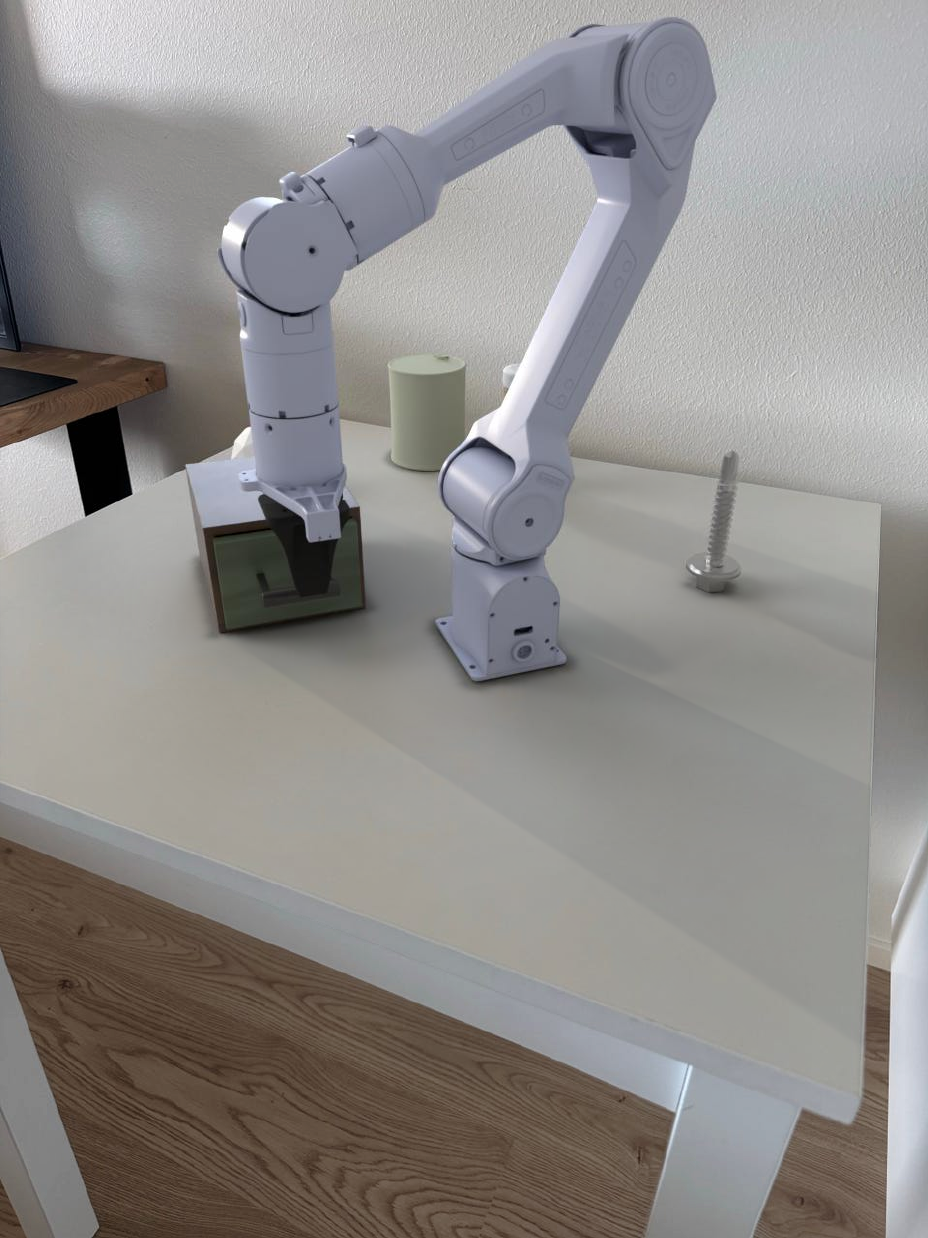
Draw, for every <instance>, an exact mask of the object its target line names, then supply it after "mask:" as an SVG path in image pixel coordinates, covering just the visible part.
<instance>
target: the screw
mask: <svg viewBox="0 0 928 1238" xmlns="http://www.w3.org/2000/svg"><path fill="white" fill-rule="evenodd" d="M739 462H740V454H738V453H737V452H736V451H734V450H730V451H727V452H725V453H724V455H723V458H722V463H721V469H720V474H719V475H718V477H719V479H718V481H716V485H717V487H715V488H714V490H715V494H714V495H713V497H714V500H713V501H712V503H713V505H714V506H713V507H711V509H712V511H713V512H712V513H710V516H711V517H712V518H711V519H710V520H709V522H710V523H711V524H710V525H709V526H708V528H709V529H710V530H709V531H708V532H707V534H708V535H709V537H706V540H707V541H708V542H707V543H706V544H705V545H706V547H707V548H706V549H705V550H704V552H698V553H695V554H693V555H692V556H690V557H688V558H687V560H686V563H685V569H686V570H687V571H688V572H689V573H690V574H691V575H692V576H694V577H696V583H695V588H698V589H700V590H702V591H704V592H706V593H718V592H724V589H725V585H726V582H727V581H732V580H735V579H737V578H739V576H740V575H741V573H742V566H741V565H740V563H739V562H738V561H737V560H736V559H735V558H734V557H732V556H730V555H727V554H726V553H727V552H728V548H727V547H728V546H729V542H728V541H729V540H730V534H731V528H732V524H731V523H732V522H733V518H732V517H733V515H734V511H733V510H735V505H734V504H735V503H736V502H737V501H736V497H737V491H738V489H739V488H738V486H737V485H738V483H739V480H738V479H737V476H738V475H737V474H738V468H739Z"/></svg>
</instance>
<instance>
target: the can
mask: <svg viewBox="0 0 928 1238" xmlns="http://www.w3.org/2000/svg"><path fill="white" fill-rule="evenodd" d="M387 369H388V380H389V381H388V382H389V399H390V401H389V402H390V403H389V404H390V427H391V429H390V430H391V454H390V459H391V461H392V463H393V464H394V465H396V466H398V467H400V468H403V469H406V470H410V471H411V470H412V471H417V472H438V471H439V472H440V470H441V468H442V466H443V464H444V462H445V461H446V459H447V458H448V457H449V456H450V454H451V453H452V452H454V451H455V450H456V449H457V448H458V447H459V446H460V445H461V444H462V443H463V442H464V441H465V439H466V369H467V363H466V361H465V360H464V359H462V358H460V357H458V356H454V355H450V354H442V353H413V354H406V355H400V356H398V357H395V358H393V359H391V360H389V362H388V363H387Z"/></svg>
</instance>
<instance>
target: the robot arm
mask: <svg viewBox="0 0 928 1238" xmlns="http://www.w3.org/2000/svg"><path fill="white" fill-rule="evenodd" d="M715 85H716V84H715V81H714V75H713V70H712V66H711V59H710V55H709V51H708V47H707V44H706V42H705V39H704V38H703V36H702V34H701V32H700V31H699V30H698V29H697V28H696V26H695V25H694V24H692V22H690V21H688V20H686V19H684V18H681V17H677V16H665V17H662V18H658V19H655V20H652V21H645V22H636V23H623V24H611V25H605V24H597V23H589V24H588V23H587V24H584V25H581V26H579V27H577V28H575V29H573V30H572V31H571V32H570V33H569V34H567V35H566V36H565V37H561V38H556V39H553V40H551V41H549V42H545V43H543V44H542V45H541V46H539V47H538V48H536V49H535V50H533V52H531V53H529V54H528V55H526V56H525V57H524V58H523V59H521V60H520V61H518V62H517V63H515V64H514V65H512V66H511V67H509V68H508V69H506V70H505V71H503V72H502V73H501V74H499V75H498V76H496V77H495V78H493V79H492V80H491V81H489V82H488V83H486V84H484V85H483V86H482V87H480V88H479V89H477V90H476V91H475V92H473V93H471V94H470V95H469V96H467V97H466V98H464V99H463V100H461V101H460V102H459V103H457V104H456V105H454V106H453V107H451V108H450V109H449V110H447V111H446V112H443V114H441V115H440V116H438V117H437V118H435V119H433V120H432V121H431V122H430V123H428V124H426V125H425V126H423V128H421V129H420V130H418V131H417V132H415V133H411V132H408V131H406V130H403V129H401V128H399V127H396V126H393V125H389V124H386V125H385V124H384V125H383V126H381V127H379V128H378V129H374V127H373V126H371V125H364V124H362V125H360V126H358V127H356V128H354V129H353V130H351V131H350V132H348V133H347V134H346V140H347V142H348V144H349V147H347V148H345V149H344V150H342V151H340V152H339V153H337V154H336V155H334V156H333V157H331V158H328V159H327V160H326V161H324V162H322V163H321V164H319V165H318V166H316V167H315V168H313V169H311V170H310V171H308V172H306V173H304V174H302V175H301V176H300V174H299V173H298V172H295V171H291V172H289V173H288V174H285V175H284V176H282V177H281V178H280V179H279V181H278V182H279V185H280V187H281V189H282V191H281V196H282V197H281V199H280V198H276V197H273V196H272V197H271V196H269V197H266V196H259V197H255V198H251V199H249V200H247V201H244V202H243V203H242V204H240V205H239V206H237V207H236V209H234V211H232V213H230V215H229V217H228V222H227V224H225V225H224V226H223V232H222V235H221V242H220V243H221V246H220V247H218V248H217V251H216V252H217V257H218V260H219V262H220V263H219V264H220V266H221V268H222V270H223V272H224V274H225V276H227V278H228V279H229V280H230V281H231V283H232V284H233V285H234V286H235V287H236V288H237V289H238V290H236V291H235V293H236V300H237V314H238V319H239V326H240V330H239V331H240V332H239V344H240V350H241V360H242V361H241V362H242V367H243V368H242V369H243V376H244V384H245V393H246V400H247V407H248V416H249V417H248V418H249V423H250V427H251V432H252V440H253V449H254V457H255V465H256V469H254V470H251V471H244V472H241V473H239V475H238V478H239V484H240V487H241V489H242V490H243V491H246V492H249V491H260V492H262V493H264V494H262V495H260V496H259V497H258V501H259V504H260V506H261V509H262V511H263V514H264V516H265V519H266V521H267V523H268V524H269V526H270V527H271V529H272V530H273V532H274V533H275V534H276V536H277V537H278V539H279V541H280V543H281V546H282V549H283V552H284V555H285V559H286V562H287V566H288V569H289V572H290V575H291V578H292V581H293V583H294V586H295V588H296V591H297V593H298V595H299V597H307V596H313V595H319V594H325V593H327V592H328V588H329V584H330V578H331V572H332V565H333V559H334V553H335V549H336V545H337V542H338V539H339V538H341V532H342V530H343V528H344V526H345V524H346V523H347V521H348V519H349V514H350V507H349V505H348V504H347V502H346V501H345V500H343V489H344V486H345V485H346V483H347V479H348V473H347V466H346V465H345V463H344V461H343V446H342V431H341V419H340V418H341V417H340V403H339V391H338V390H339V389H338V377H337V376H338V375H337V363H336V349H335V347H336V346H335V335H334V334H335V333H334V330H333V322H332V309H331V308H332V307H331V300H332V299H334V297H335V295H336V293H337V292H338V290H339V288H340V286H341V283H342V281H343V277H344V274H345V271H347V272H350V271H351V270H353V269H354V268H357V266H359V265H361V264H362V263H364V262H365V261H368V260H369V259H371V258H372V257H373V256H375V255H377V254H378V253H380V252H381V251H383V250H384V249H386V248H388V247H389V246H391V245H392V244H394V243H395V242H397V241H399V240H400V239H402V238H403V237H405V236H407V235H408V234H410V233H412V232H413V231H415V230H416V229H417V228H419V227H421V226H422V225H423V224H425V223H427V222H428V221H430V220H432V219H433V218H434V217H435V214H436V212H437V210H438V208H439V207H438V206H439V202H440V200H441V195H442V191H443V189H444V187H445V186H446V185H448V184H449V183H451V182H453V181H455V180H456V179H458V178H460V177H462V176H464V175H466V174H467V173H469V172H471V171H473V170H474V169H476V168H478V167H480V166H482V165H483V164H485V163H486V162H488V161H491V160H492V159H494V158H496V157H497V156H499V155H501V154H503V153H505V152H506V151H509V150H511V149H512V148H514V147H516V146H517V145H519V144H522V142H524V141H526V140H528V139H529V138H531V137H533V136H535V135H536V134H539V133H540V132H543V131H544V130H546V129H547V128H550V127H552V126H563V128H564V129H565V131H566V133H567V134H568V136H569V137H570V139H571V141H572V142H573V144H574V146H575V147H576V149H577V150H578V152H579V154H580V156H581V157H582V159H583V160H584V162H585V163H586V165H587V166H588V169H589V171H590V174H591V177H592V181H593V183H594V187H595V190H596V194H597V201H596V203H595V205H594V207H593V209H592V212H591V214H590V216H589V218H588V220H587V222H586V225H585V226H584V229H583V230H582V232H581V235H580V237H579V240H578V241H577V244H576V246H575V248H574V250H573V251H572V255H571V256H570V258H569V261H568V262H567V265H566V267H565V269H564V272H563V273H562V275H561V278H560V280H559V282H558V283H557V286H556V288H555V291H554V292H553V294H552V297H551V298H550V301H549V303H548V305H547V306H546V307H547V308H546V310H545V311H544V314H543V315H542V317H541V320H540V322H539V324H538V326H537V329H536V330H535V333H534V335H533V337H532V339H531V341H530V342H529V345H528V347H527V350H526V352H525V354H524V355H523V358H522V360H521V362H520V363H519V364H520V366H519V369H518V371H517V373H516V375H515V377H514V379H513V381H512V383H511V386H510V388H509V390H508V392H507V394H506V396H505V398H504V397H503V400H502V402H501V404H500V406H498V408H496V409H494V410H493V411H491V412H489V413H488V414H486V415H483V416H482V417H481V418H479V419H477V420H475V422H474V423H473V424H472V427H471V428H470V431H469V433H468V434H467V437H465V441H464V442H463V443H462V444H461V445H460V446H459V447H458V448H457V449H456V450H455V451H454V452H452V453H451V454H450V456H449V457H448V458H447V459H446V461H445V462H444V464H443V466H442V468H441V470H439V472H438V477H437V493H438V497H439V499H440V502H441V503H442V506H443V507H444V508H445V509H446V510H447V511H448V512H450V513H451V515H452V516H451V517H452V519H451V520H452V522H451V523H452V524H451V525H452V526H451V527H452V530H451V615H447V616H442V617H438V618H437V619H435V626H436V628H437V629H438V631H439V632H440V633H441V636H442V637H443V638H444V640H445V641H446V642H447V644H448V646H449V647H450V649H451V650H452V652H453V654H454V655H455V657H456V658H457V659H458V661H459V662H460V664H461V665H462V667H463V668H464V670H465V671H466V673H467V675H468V676H469V677H470V679H471V680H472V681H474V682H483V681H486V680H492V679H497V678H502V677H506V676H512V675H515V674H517V675H518V674H521V673H526V672H530V671H535V670H540V669H545V668H546V669H547V668H549V667H554V666H560V665H564V664H566V663H567V659H568V657H567V655H566V654H565V653H564V652H563V650H562V649H561V648H560V647H559V646H558V638H559V637H558V636H559V625H560V624H559V623H560V611H561V610H560V608H561V597H560V596H561V595H560V592H559V590H558V587H557V585H556V584H555V582H554V581H553V580H552V578H551V576H550V574H549V572H548V570H547V567H546V561H545V556H546V555H547V548H549V547H550V545H551V544H552V543H553V542H554V541H555V540H556V539H557V537H558V535H559V533H560V531H561V529H562V526H563V523H564V519H565V507H566V506H565V505H566V500H567V496H568V494H569V492H570V489H571V487H572V485H573V483H574V481H575V477H576V476H575V469H574V465H573V461H572V457H571V454H570V453H571V452H570V450H569V444H568V438H569V436H570V434H571V432H572V431H573V428H574V426H575V424H576V422H577V420H578V418H579V416H580V414H581V413H582V410H583V408H584V406H585V404H586V402H587V400H588V398H589V397H590V394H591V392H592V390H593V388H594V386H595V385H596V382H597V380H598V378H599V376H600V374H601V373H602V370H603V369H604V366H605V364H606V362H607V361H608V358H609V356H610V354H611V352H612V350H613V348H614V346H615V344H616V342H617V340H618V339H619V336H620V334H621V332H622V330H623V328H624V326H625V324H626V323H627V320H628V318H629V317H630V314H631V312H632V310H633V308H634V306H635V304H636V302H637V301H638V298H639V296H640V294H641V292H642V290H643V288H644V286H645V284H646V282H647V280H648V278H649V276H650V274H651V272H652V270H653V268H654V266H655V264H656V262H657V260H658V257H659V256H660V254H661V252H662V250H663V248H664V246H665V243H666V242H667V240H668V237H669V236H670V234H671V232H672V230H673V228H674V226H675V224H676V222H677V220H678V218H679V216H680V214H681V211H682V209H683V206H684V204H685V201H686V196H687V192H688V185H689V181H690V175H691V169H692V165H693V164H692V163H693V158H694V153H695V152H694V151H695V146H696V141H697V139H698V137H699V135H700V133H701V132H702V129H703V127H704V126H705V123H706V121H707V120H708V117H709V115H710V113H711V112H712V108H713V107H714V105H715V103H716V101H717V98H718V97H717V95H718V94H717V90H716V86H715Z"/></svg>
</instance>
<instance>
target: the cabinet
mask: <svg viewBox="0 0 928 1238" xmlns="http://www.w3.org/2000/svg"><path fill="white" fill-rule="evenodd" d="M184 467H185V473H186V479H187V485H188V491H189V498H190V505H191V511H192V516H193V522H194V529H195V534H196V542H197V546H198V547H197V548H198V554H199V560H200V563H201V567H202V571H203V575H204V579H205V583H206V586H207V591H208V594H209V599H210V602H211V606H212V610H213V614H214V618H215V623H216V626H217V630H218V634H222V633H228V632H233V631H239V630H240V631H241V630H246V629H250V628H257V627H262V626H263V627H264V626H269V625H274V624H280V623H285V622H290V621H298V620H302V619H303V620H304V619H309V618H314V617H320V616H325V615H326V616H327V615H332V614H339V613H343V612H350V611H354V610H361V609H366V608H367V603H366V588H365V586H366V585H365V584H366V583H365V569H364V553H363V551H364V550H363V538H362V537H363V535H362V534H363V533H362V518H361V507H360V506H361V505H359V503H358V501H357V500H356V499H355V497H354V495H353V494H352V492H350V490H349V488H348V486H347V485H346V484H345V486H344V489H343V500H345V501H346V502H347V504H348V505H349V507H350V514H349V519H351V518H354V520H355V521H356V523H357V532H358V549H359V565H360V581H361V597H362V606H360V607H354V608H349V609H343V610H337V611H331V612H325V613H320V614H314V615H308V616H302V617H296V618H290V619H285V620H279V621H273V622H267V623H261V624H256V625H250V626H244V627H238V628H232V629H227V628H226V624H225V618H224V612H223V605H222V599H221V592H220V585H219V579H218V572H217V566H216V559H215V553H214V546H213V538H215V536H216V535H224V534H231V533H238V532H245V531H252V530H259V529H266V528H271V527H270V526H269V524H268V523H267V521H266V519H265V516H264V514H263V511H262V509H261V506H260V504H259V501H258V497H259V496H260V495H262V494H264V493H262V492H260V491H249V492H246V491H243V490H242V489H241V487H240V484H239V478H238V475H239V473H241V472H244V471H251V470H254V469H256V465H255V457H246V458H238V459H231V458H229V459H222V460H213V461H206V462H205V461H204V462H195V463H188V464H187V463H186V464H184Z"/></svg>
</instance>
